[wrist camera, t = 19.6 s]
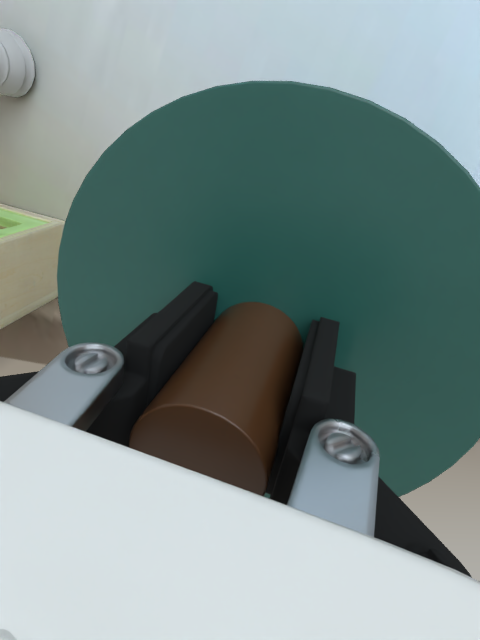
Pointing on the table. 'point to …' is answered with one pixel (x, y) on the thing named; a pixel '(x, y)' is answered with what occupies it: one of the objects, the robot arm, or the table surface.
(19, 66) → the rook chess piece
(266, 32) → the table surface
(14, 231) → the toy sink
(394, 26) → the table surface
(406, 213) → the lid
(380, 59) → the table surface
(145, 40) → the table surface
